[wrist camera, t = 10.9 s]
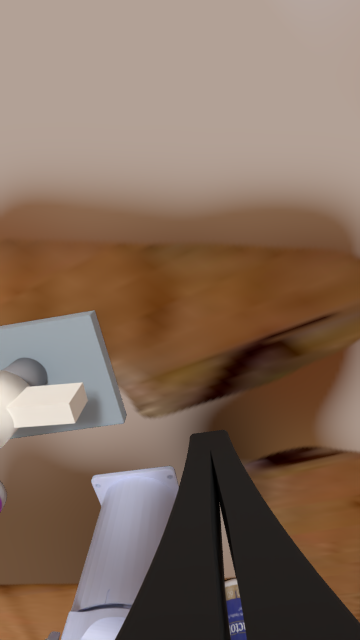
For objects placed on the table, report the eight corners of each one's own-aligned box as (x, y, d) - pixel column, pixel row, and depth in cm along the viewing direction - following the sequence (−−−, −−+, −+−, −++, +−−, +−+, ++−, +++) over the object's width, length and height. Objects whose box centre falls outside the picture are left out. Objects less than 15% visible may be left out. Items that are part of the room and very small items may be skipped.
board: (126, 414, 21) (106, 481, 15) (-4, 432, 22) (-68, 502, 16) (94, 310, 18) (54, 346, 12) (-57, 335, 19) (-160, 380, 13)
